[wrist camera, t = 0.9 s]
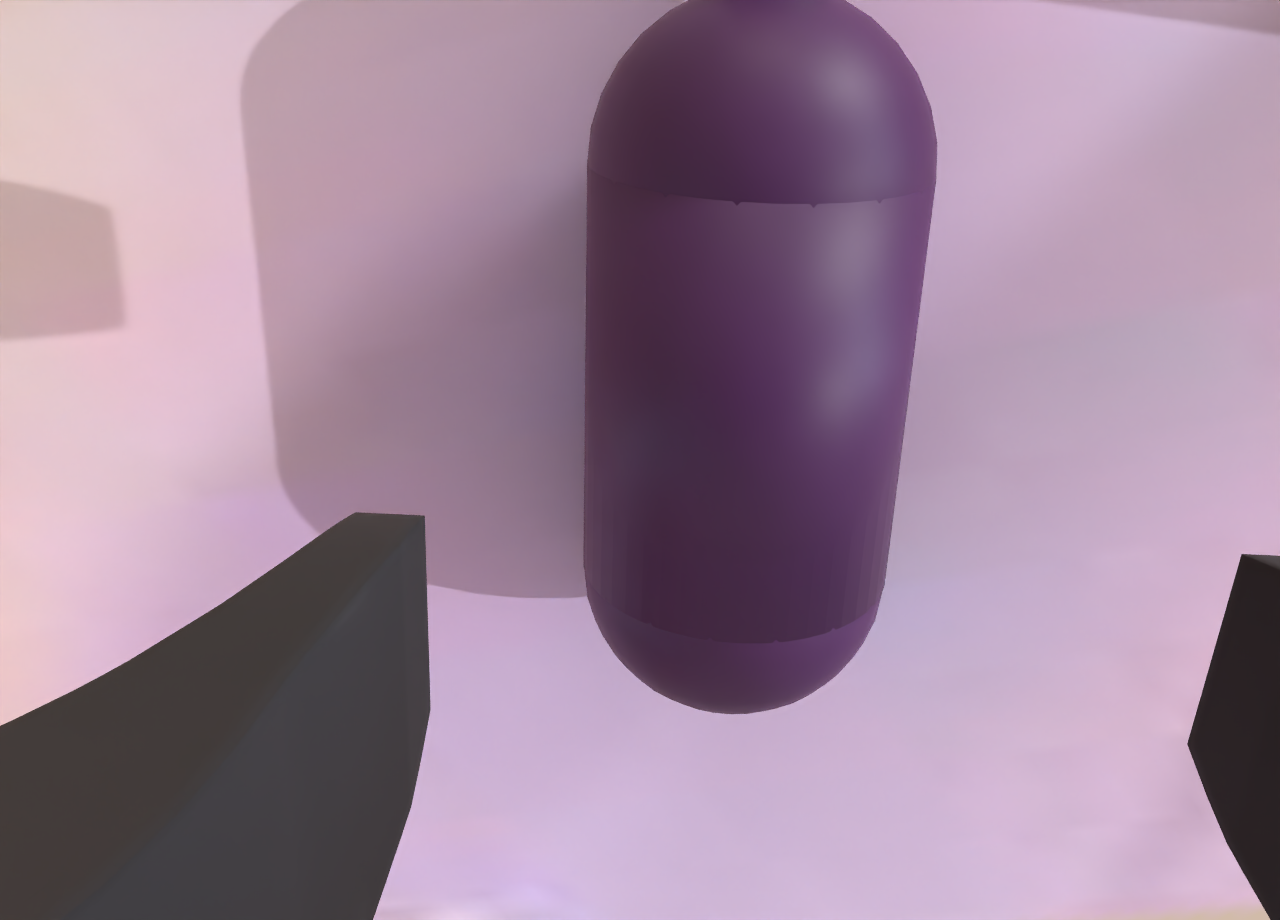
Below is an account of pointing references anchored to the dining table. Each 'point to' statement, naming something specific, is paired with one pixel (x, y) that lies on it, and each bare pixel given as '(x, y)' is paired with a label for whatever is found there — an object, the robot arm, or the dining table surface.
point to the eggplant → (750, 342)
